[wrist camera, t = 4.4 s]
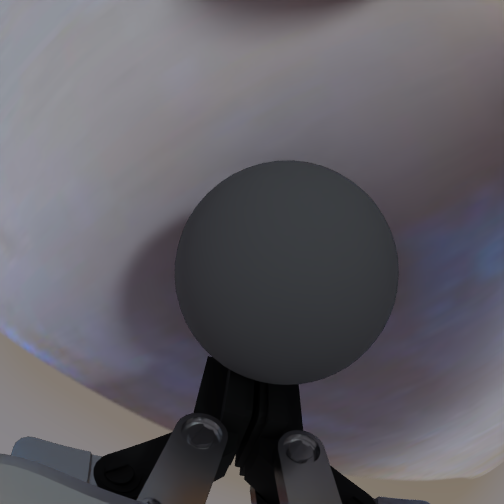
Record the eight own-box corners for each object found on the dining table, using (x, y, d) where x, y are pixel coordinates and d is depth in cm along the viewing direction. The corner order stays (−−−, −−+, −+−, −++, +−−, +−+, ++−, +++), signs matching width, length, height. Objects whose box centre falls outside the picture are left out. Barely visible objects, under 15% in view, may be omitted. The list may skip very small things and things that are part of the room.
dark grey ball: (340, 154, 10) (420, 123, 4) (366, 306, 11) (439, 390, 5) (179, 191, 10) (103, 194, 5) (221, 340, 11) (197, 448, 6)
